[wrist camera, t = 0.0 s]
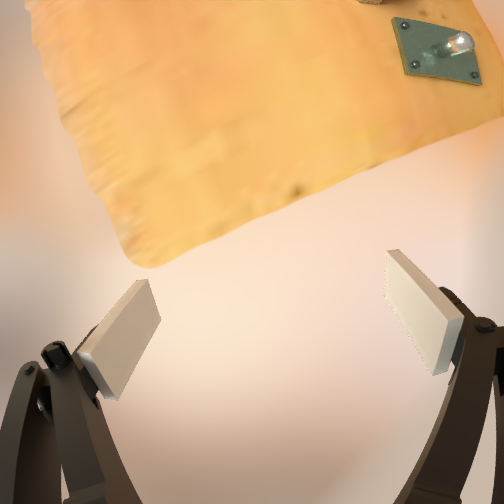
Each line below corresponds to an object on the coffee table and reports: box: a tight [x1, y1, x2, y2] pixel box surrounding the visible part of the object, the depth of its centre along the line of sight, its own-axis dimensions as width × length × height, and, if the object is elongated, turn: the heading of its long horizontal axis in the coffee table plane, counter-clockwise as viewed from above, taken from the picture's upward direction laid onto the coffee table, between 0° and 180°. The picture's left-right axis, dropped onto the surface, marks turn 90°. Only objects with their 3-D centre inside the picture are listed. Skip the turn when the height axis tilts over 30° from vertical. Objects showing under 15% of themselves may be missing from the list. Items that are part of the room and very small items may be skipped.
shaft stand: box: [391, 17, 482, 85], centre depth 26 cm, size 10×16×9 cm, turn 99°
